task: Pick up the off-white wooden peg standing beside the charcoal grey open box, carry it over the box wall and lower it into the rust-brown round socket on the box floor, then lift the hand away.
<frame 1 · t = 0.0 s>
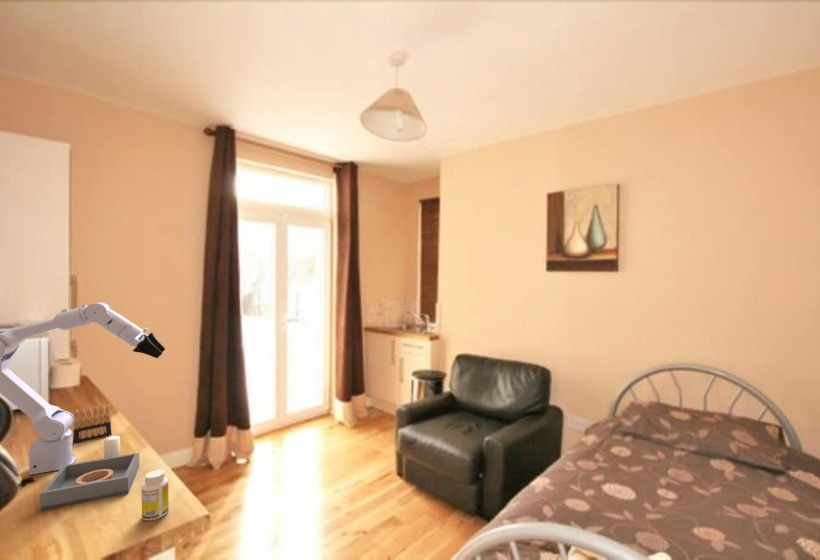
hand: (161, 353, 132), 32 cm above the worktop, tool tilted 50°, fingers open, 7 cm apart
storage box: (95, 486, 108), on the worktop
ammunition clip: (92, 439, 140), on the worktop
peg: (112, 464, 121), on the worktop
supplement bottle: (155, 515, 96), on the worktop
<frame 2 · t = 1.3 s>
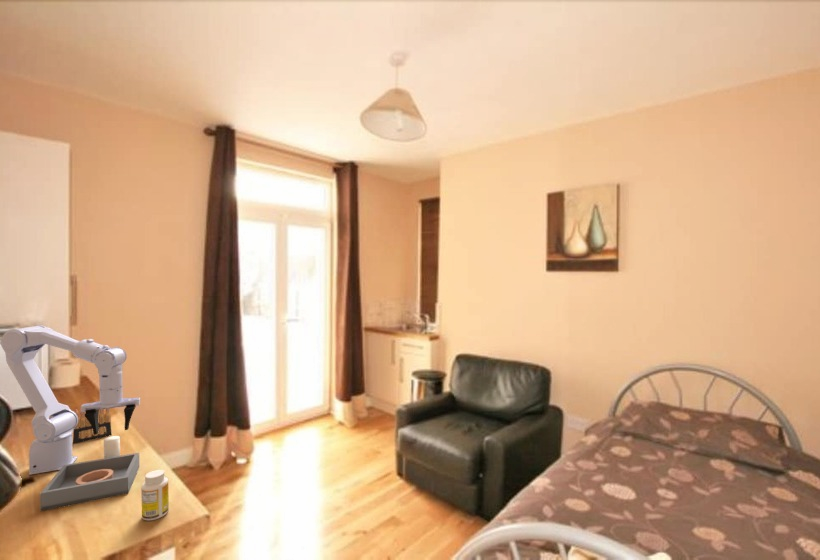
hand: (111, 431, 121), 10 cm above the worktop, tool pointing down, fingers open, 7 cm apart
nothing on the worktop moved.
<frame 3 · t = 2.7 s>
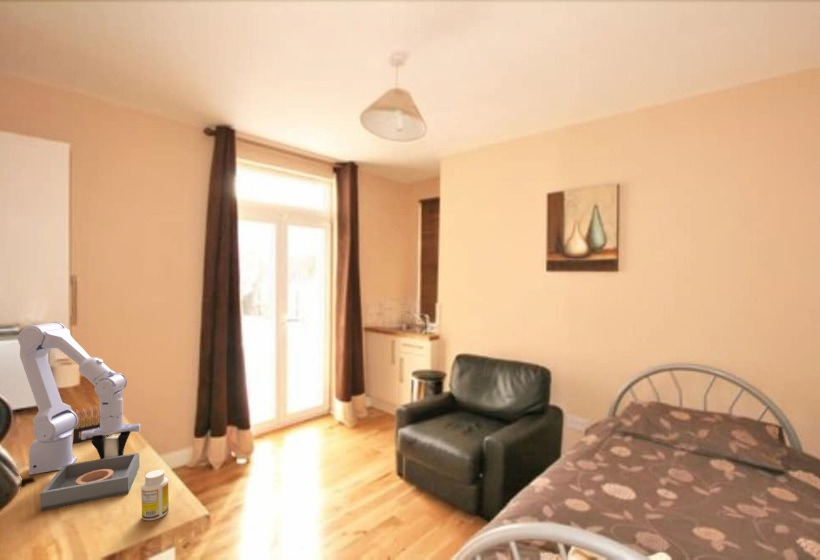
hand: (112, 457, 121), 2 cm above the worktop, tool pointing down, fingers closed on peg, 4 cm apart
peg: (112, 464, 121), on the worktop, touching gripper
everything else where it was.
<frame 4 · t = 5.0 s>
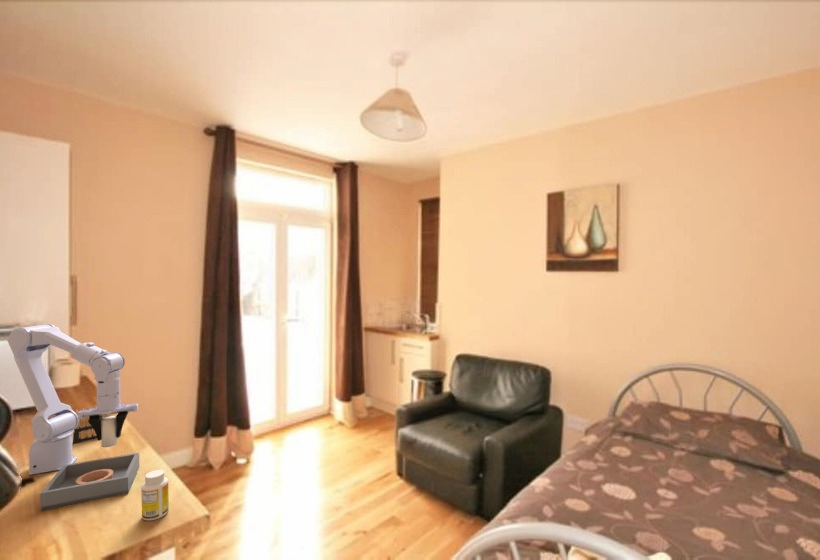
hand: (109, 437, 119), 9 cm above the worktop, tool pointing down, fingers closed on peg, 4 cm apart
peg: (109, 444, 119), point 7 cm above the worktop, touching gripper
everything else where it was.
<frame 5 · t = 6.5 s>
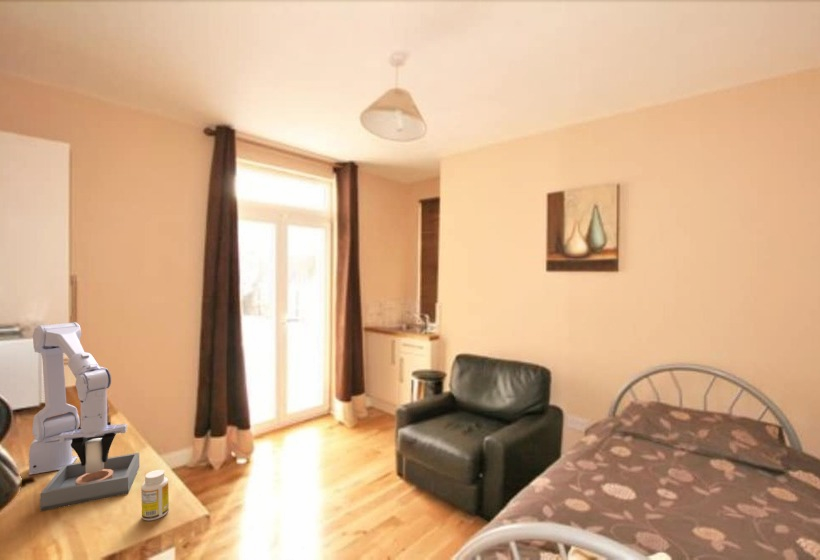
hand: (94, 462, 108), 7 cm above the worktop, tool pointing down, fingers closed on peg, 4 cm apart
peg: (94, 469, 108), point 5 cm above the worktop, touching gripper
everything else where it was.
when the fingers open (4 cm above the worktop, at t = 7.4 s): peg drops 1 cm, resting on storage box.
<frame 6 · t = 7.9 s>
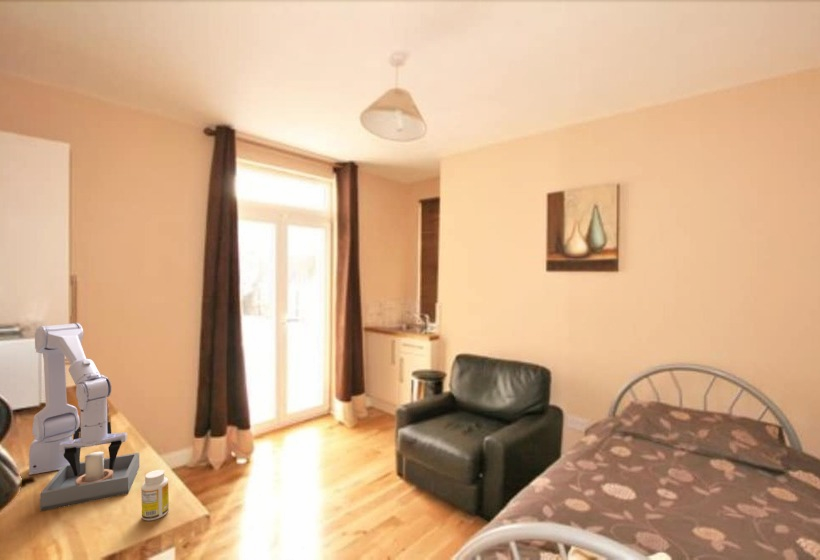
hand: (94, 471, 108), 4 cm above the worktop, tool pointing down, fingers open, 7 cm apart
peg: (94, 483, 108), point 1 cm above the worktop, touching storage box
everything else where it was.
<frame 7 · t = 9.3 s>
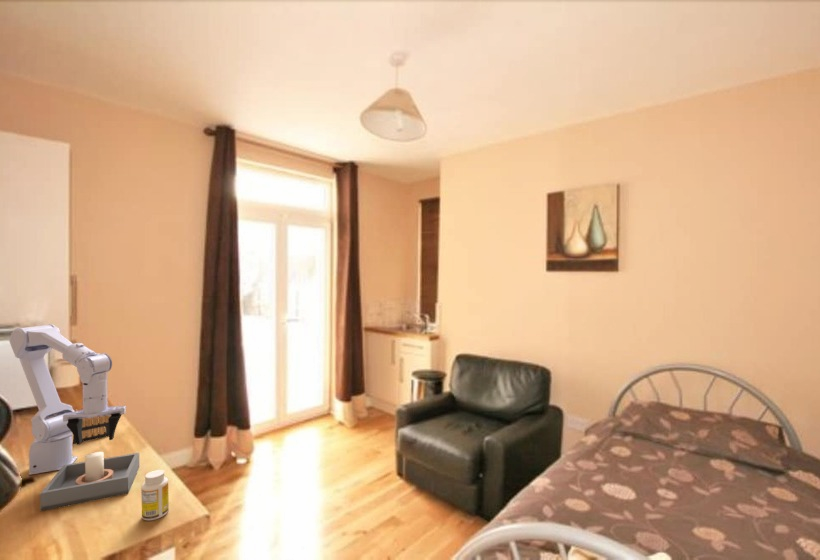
hand: (95, 441, 116), 9 cm above the worktop, tool pointing down, fingers open, 7 cm apart
nothing on the worktop moved.
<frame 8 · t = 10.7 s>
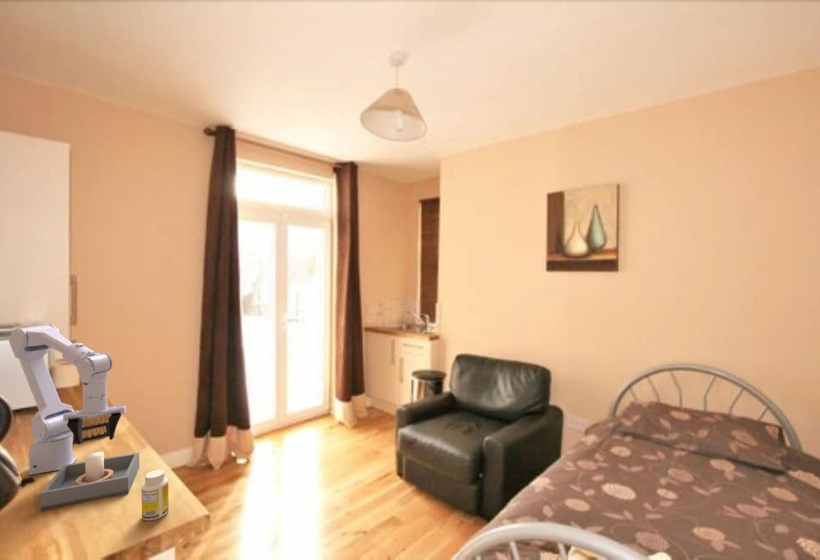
hand: (96, 440, 116), 9 cm above the worktop, tool pointing down, fingers open, 7 cm apart
nothing on the worktop moved.
at the end: peg 0.0 cm off-centre on the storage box, point 1.0 cm above the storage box's base; peg tilted 0°; the gripper is holding nothing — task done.
